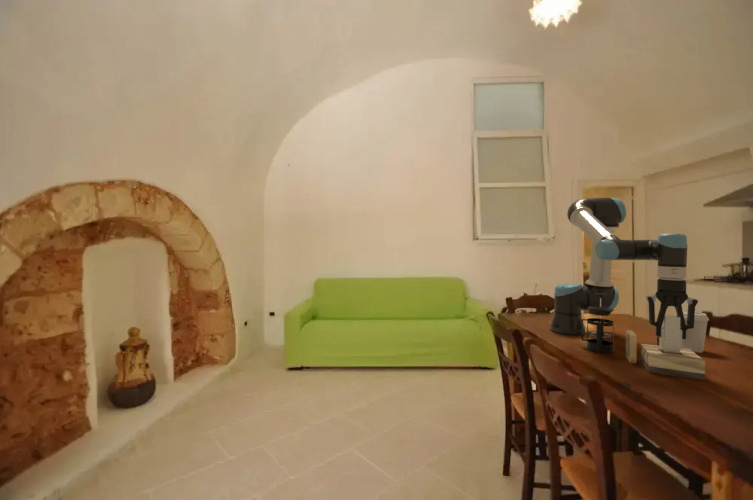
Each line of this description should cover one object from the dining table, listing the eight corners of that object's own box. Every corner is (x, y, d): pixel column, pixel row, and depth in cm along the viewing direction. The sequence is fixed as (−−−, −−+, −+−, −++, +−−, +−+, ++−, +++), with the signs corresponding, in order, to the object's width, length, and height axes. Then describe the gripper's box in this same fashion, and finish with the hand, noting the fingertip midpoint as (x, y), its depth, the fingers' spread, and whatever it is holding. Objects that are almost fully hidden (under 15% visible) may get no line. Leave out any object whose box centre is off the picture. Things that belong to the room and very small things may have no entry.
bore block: (640, 359, 127) (640, 343, 127) (690, 366, 121) (690, 349, 120) (649, 372, 115) (649, 354, 115) (704, 380, 108) (705, 361, 108)
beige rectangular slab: (625, 356, 132) (626, 330, 132) (632, 356, 131) (632, 330, 131) (629, 362, 125) (629, 334, 124) (636, 363, 124) (636, 335, 124)
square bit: (661, 348, 120) (662, 313, 120) (676, 349, 118) (676, 315, 118) (664, 351, 117) (665, 316, 116) (679, 353, 115) (680, 317, 115)
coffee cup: (715, 353, 134) (716, 315, 134) (690, 353, 135) (691, 315, 134) (693, 346, 144) (694, 310, 144) (670, 346, 144) (670, 310, 144)
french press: (616, 349, 140) (617, 293, 139) (615, 355, 132) (616, 295, 132) (582, 344, 147) (583, 290, 146) (580, 349, 139) (580, 293, 139)
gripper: (642, 278, 118) (641, 346, 118) (709, 281, 110) (707, 354, 110) (638, 276, 124) (637, 341, 125) (700, 279, 116) (699, 347, 117)
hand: (670, 347), depth 118 cm, fingers closed on square bit, 4 cm apart
